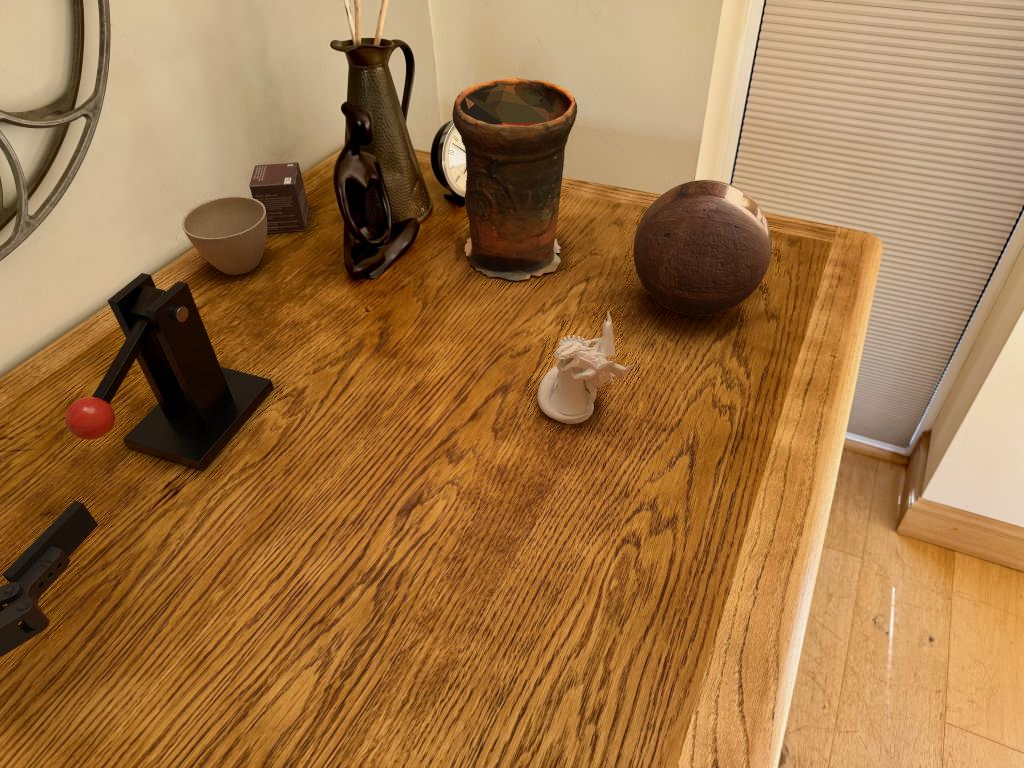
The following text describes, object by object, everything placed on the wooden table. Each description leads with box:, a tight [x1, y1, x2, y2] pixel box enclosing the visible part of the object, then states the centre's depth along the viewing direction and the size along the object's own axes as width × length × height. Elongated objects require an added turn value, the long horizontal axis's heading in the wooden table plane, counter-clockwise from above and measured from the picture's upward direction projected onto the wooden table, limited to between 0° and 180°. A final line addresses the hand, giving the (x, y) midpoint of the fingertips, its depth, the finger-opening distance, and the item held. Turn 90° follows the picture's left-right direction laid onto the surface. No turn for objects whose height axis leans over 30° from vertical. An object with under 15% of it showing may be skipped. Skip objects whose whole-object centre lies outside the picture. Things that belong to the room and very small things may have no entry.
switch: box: [64, 286, 167, 441], centre depth 62 cm, size 14×4×4 cm, turn 160°
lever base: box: [106, 272, 275, 471], centre depth 69 cm, size 12×9×16 cm
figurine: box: [537, 310, 636, 425], centre depth 69 cm, size 11×8×12 cm
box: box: [248, 162, 310, 234], centre depth 99 cm, size 6×6×7 cm
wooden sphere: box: [632, 179, 773, 317], centre depth 81 cm, size 15×15×15 cm
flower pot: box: [181, 195, 268, 276], centre depth 92 cm, size 10×10×7 cm
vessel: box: [451, 77, 578, 281], centre depth 89 cm, size 14×14×20 cm
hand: (17, 488), depth 55 cm, fingers open, 13 cm apart
